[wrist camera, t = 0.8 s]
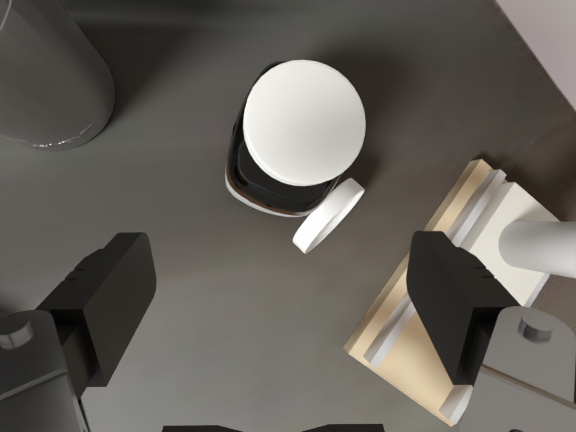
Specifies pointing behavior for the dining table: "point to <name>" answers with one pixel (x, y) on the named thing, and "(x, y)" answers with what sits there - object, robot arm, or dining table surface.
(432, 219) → the base
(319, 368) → the dining table surface
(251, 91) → the spread jar
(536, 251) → the slider
